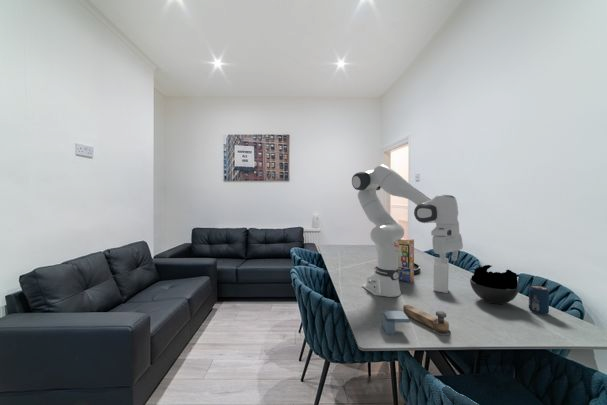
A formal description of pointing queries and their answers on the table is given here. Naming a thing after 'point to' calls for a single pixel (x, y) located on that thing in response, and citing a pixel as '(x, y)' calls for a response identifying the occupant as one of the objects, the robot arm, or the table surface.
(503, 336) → the table surface
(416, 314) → the link
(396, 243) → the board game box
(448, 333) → the pin washer
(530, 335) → the table surface
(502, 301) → the bowl of black rocks
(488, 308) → the table surface
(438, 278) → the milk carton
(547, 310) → the soda can
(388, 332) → the keeper
